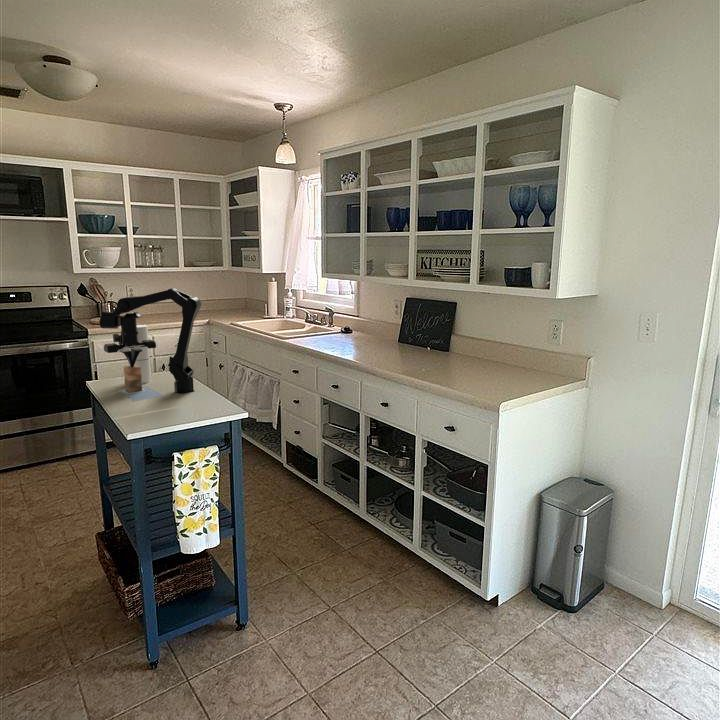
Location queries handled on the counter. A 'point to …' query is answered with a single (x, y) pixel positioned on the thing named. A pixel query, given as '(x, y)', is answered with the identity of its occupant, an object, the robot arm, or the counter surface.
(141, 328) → the cylindrical container
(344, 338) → the counter surface
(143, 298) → the robot arm
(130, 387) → the walnut block
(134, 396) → the board
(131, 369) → the terracotta block
